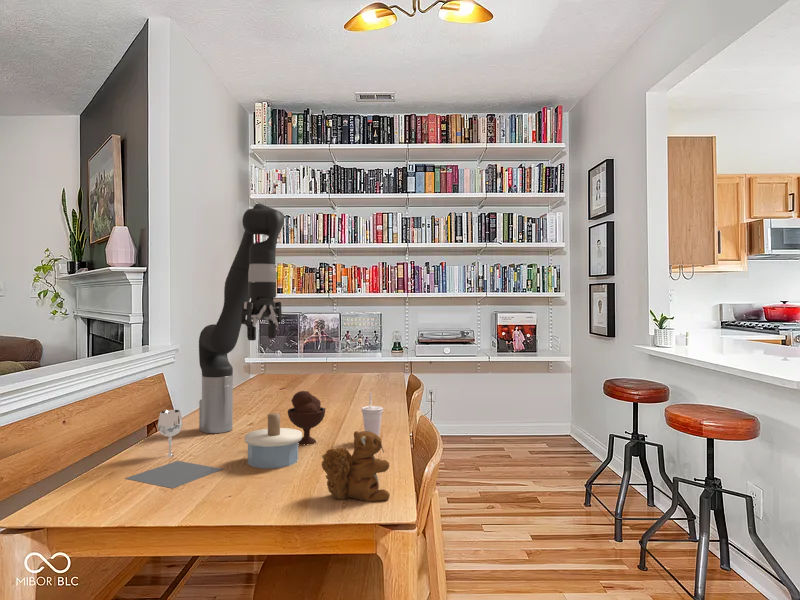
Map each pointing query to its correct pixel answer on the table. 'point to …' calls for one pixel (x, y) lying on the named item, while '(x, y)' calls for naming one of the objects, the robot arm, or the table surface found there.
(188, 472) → the mat
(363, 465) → the stuffed squirrel
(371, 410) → the smoothie
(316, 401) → the ice cream bowl
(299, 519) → the table surface
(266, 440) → the lid
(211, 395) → the robot arm
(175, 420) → the wineglass
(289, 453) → the bowl
